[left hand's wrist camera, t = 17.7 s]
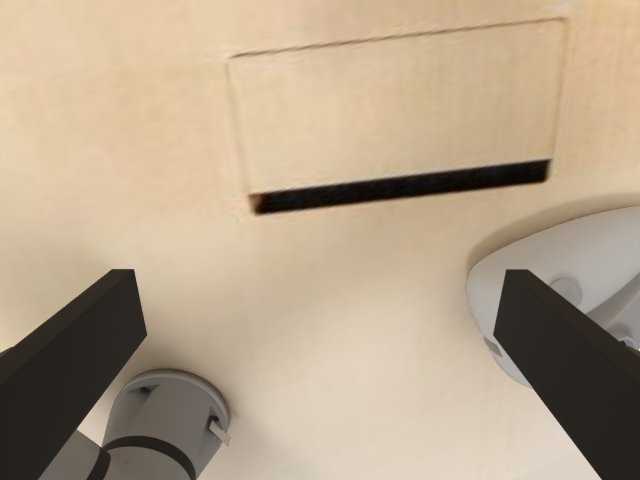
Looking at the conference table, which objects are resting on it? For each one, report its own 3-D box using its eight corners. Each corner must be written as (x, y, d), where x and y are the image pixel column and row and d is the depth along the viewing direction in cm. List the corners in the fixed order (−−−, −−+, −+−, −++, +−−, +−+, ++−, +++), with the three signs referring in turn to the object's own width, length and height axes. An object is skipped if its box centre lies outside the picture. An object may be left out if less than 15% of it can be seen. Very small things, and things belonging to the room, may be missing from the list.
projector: (593, 370, 47) (706, 480, 33) (427, 338, 45) (473, 440, 31) (690, 212, 39) (888, 268, 26) (494, 166, 38) (594, 201, 24)
